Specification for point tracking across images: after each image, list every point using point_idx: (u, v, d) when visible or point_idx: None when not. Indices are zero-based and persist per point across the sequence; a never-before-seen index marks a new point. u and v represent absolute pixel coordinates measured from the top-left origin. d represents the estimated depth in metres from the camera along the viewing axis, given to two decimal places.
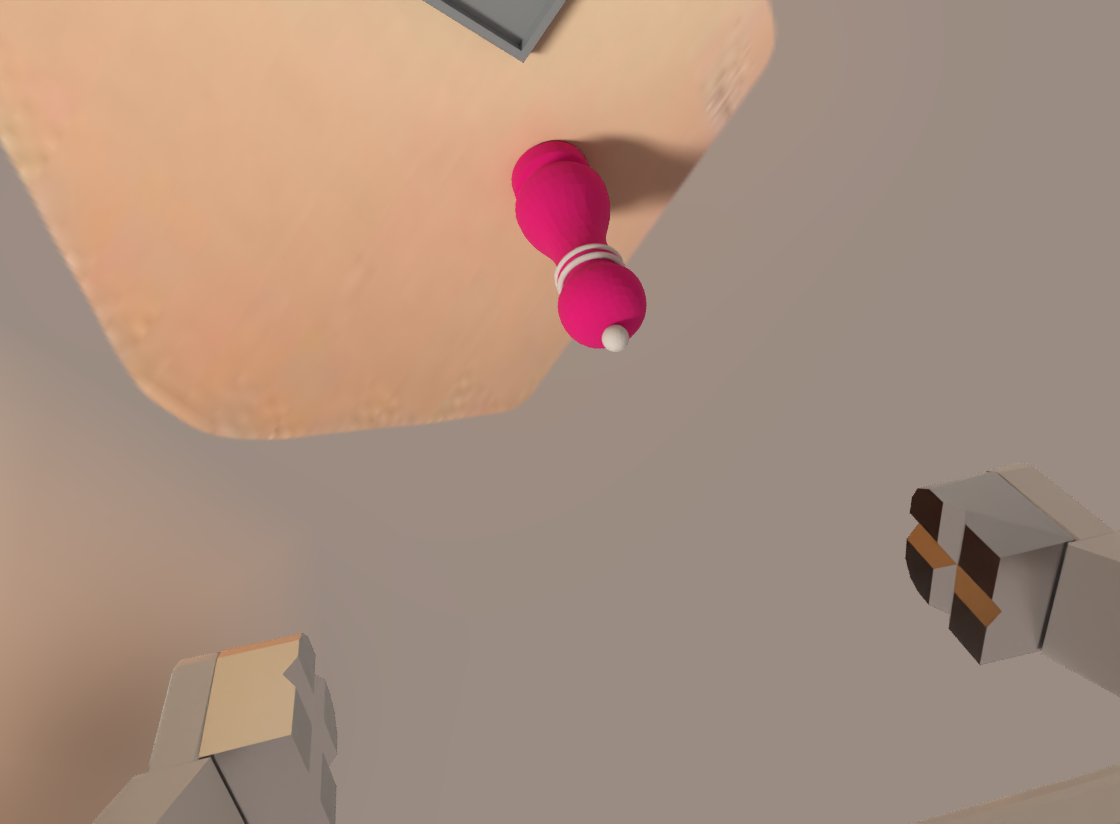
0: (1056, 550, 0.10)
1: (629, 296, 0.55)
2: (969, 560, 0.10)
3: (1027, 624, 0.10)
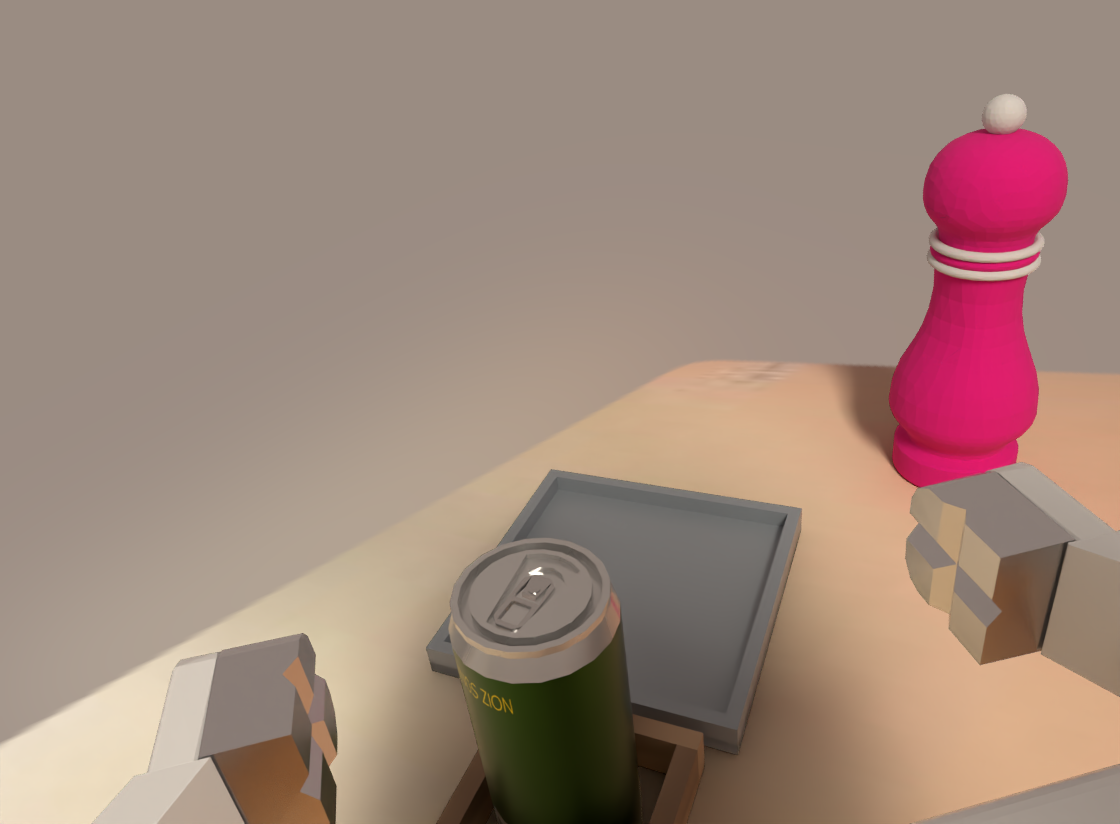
0: (1056, 550, 0.10)
1: (941, 152, 0.40)
2: (968, 560, 0.10)
3: (1027, 624, 0.10)
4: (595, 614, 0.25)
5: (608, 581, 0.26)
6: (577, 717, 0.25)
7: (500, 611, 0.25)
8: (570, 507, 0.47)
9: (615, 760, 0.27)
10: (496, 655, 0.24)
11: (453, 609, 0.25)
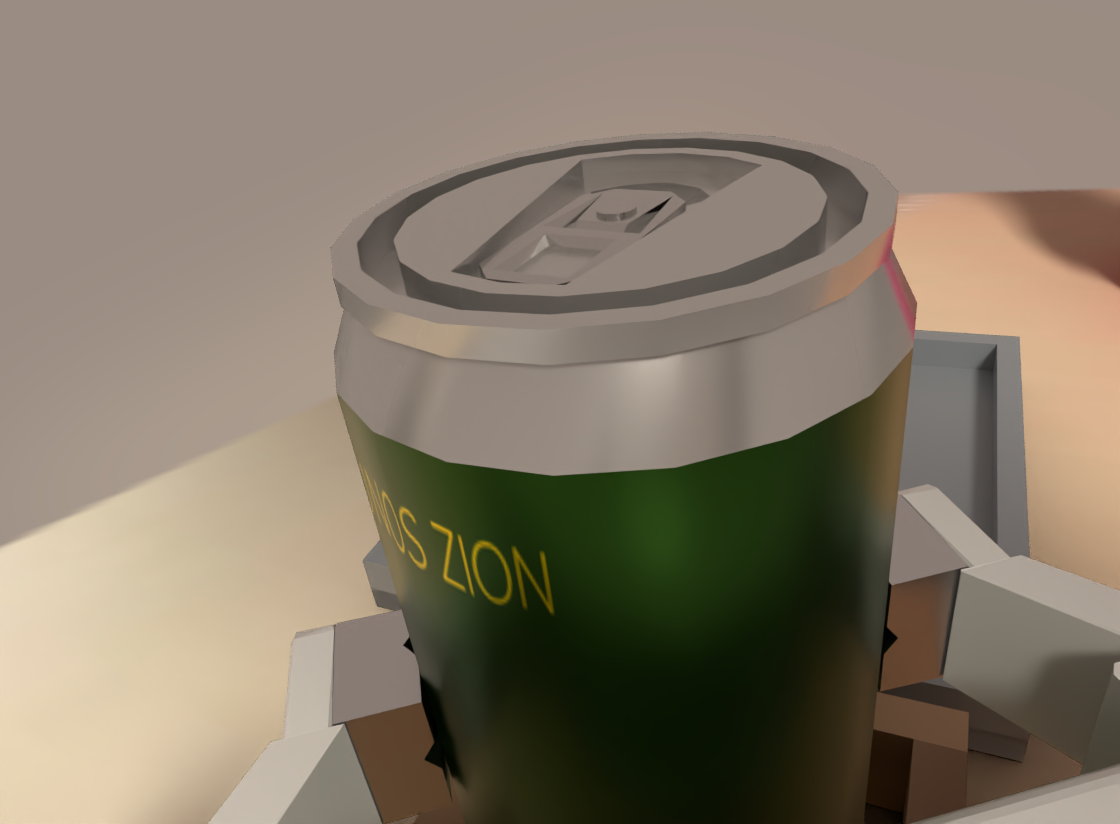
0: (949, 577, 0.10)
1: None
2: None
3: (926, 650, 0.10)
4: (869, 225, 0.06)
5: (873, 170, 0.08)
6: (788, 629, 0.07)
7: (504, 255, 0.07)
8: None
9: (852, 780, 0.09)
10: (487, 358, 0.06)
11: (339, 257, 0.07)
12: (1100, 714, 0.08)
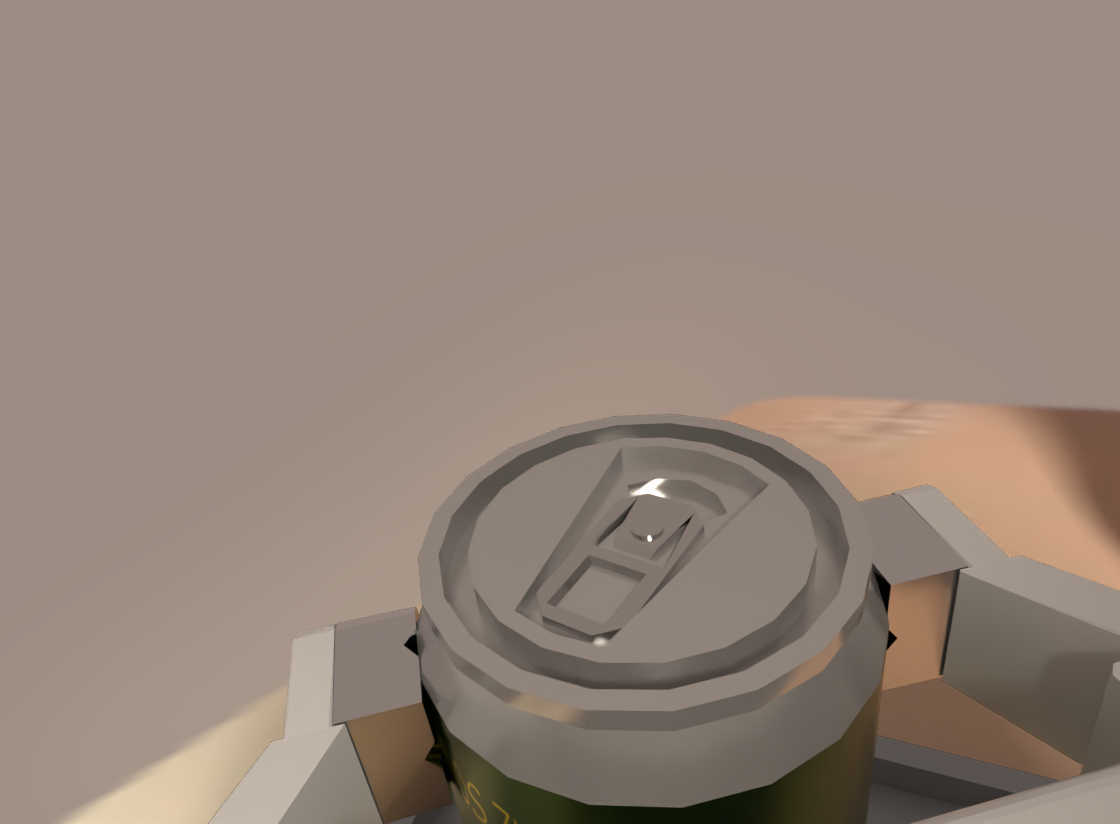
0: (948, 577, 0.10)
1: None
2: None
3: (925, 650, 0.10)
4: (844, 600, 0.08)
5: (857, 512, 0.09)
6: None
7: (556, 583, 0.09)
8: None
9: None
10: (542, 714, 0.08)
11: (426, 573, 0.09)
12: (1099, 714, 0.08)
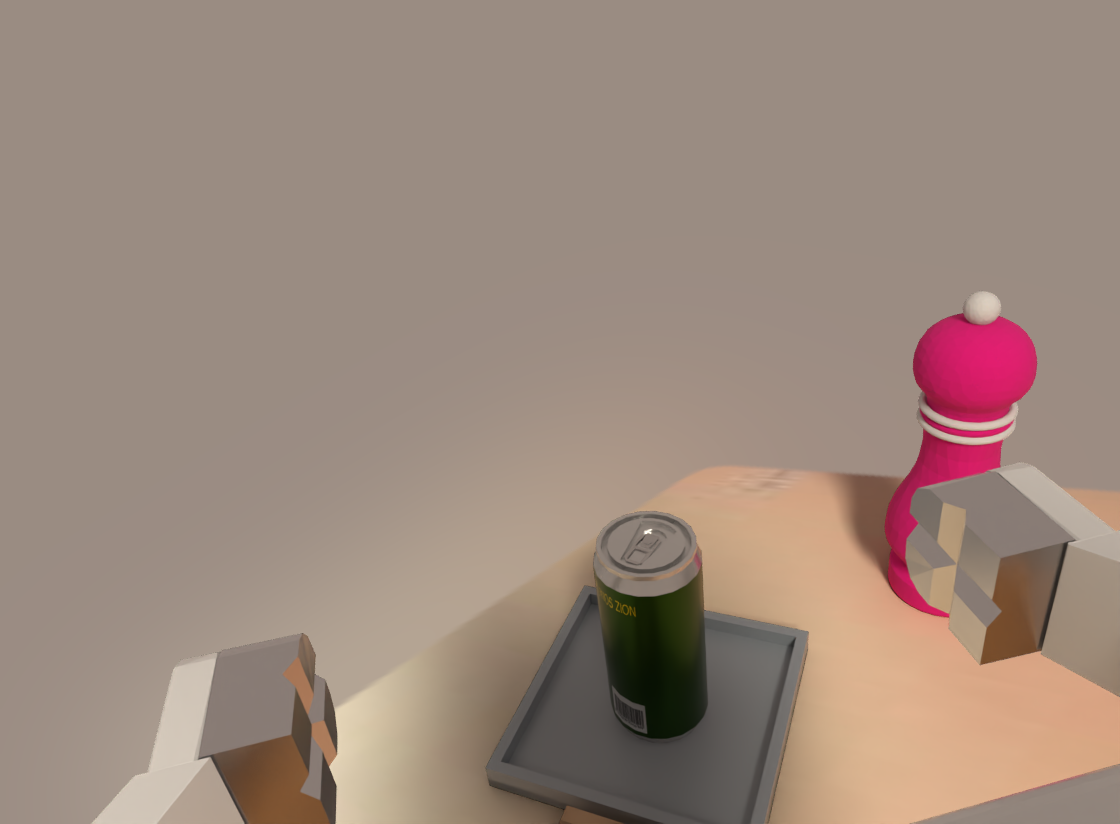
0: (1056, 550, 0.10)
1: (928, 333, 0.46)
2: (969, 560, 0.10)
3: (1027, 624, 0.10)
4: (688, 557, 0.40)
5: (695, 538, 0.41)
6: (674, 621, 0.41)
7: (628, 554, 0.41)
8: None
9: (694, 653, 0.43)
10: (628, 579, 0.40)
11: (598, 552, 0.41)
12: None
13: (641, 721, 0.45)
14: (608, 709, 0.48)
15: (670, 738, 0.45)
